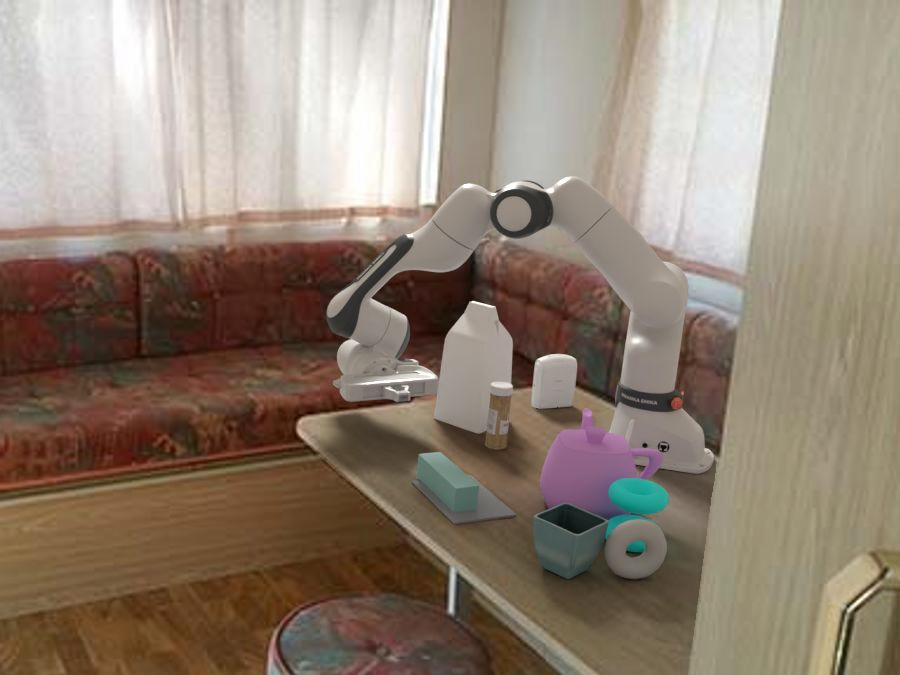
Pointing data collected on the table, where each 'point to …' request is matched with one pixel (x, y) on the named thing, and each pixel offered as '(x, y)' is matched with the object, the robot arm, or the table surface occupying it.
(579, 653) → the table surface
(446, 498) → the teal block
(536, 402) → the photo printer
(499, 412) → the sprinkles bottle
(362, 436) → the table surface
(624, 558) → the donut
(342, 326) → the robot arm
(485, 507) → the grey mat
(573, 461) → the teapot
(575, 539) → the flower pot
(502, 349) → the milk
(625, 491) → the donuts
